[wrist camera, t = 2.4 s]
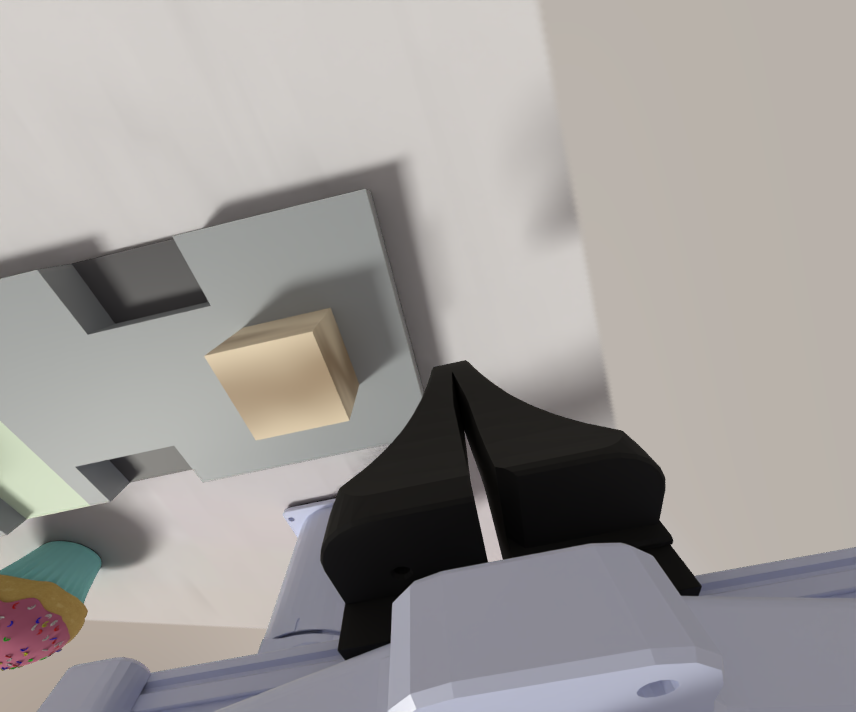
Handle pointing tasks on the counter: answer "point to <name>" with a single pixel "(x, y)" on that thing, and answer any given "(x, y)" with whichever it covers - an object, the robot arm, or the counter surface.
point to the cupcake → (44, 601)
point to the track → (188, 355)
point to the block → (287, 374)
